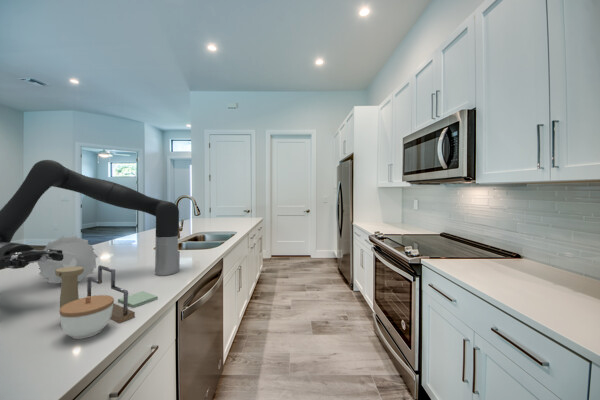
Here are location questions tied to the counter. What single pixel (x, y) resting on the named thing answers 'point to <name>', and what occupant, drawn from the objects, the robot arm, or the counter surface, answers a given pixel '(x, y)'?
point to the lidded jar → (86, 316)
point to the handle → (69, 283)
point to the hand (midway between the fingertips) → (43, 260)
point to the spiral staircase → (69, 258)
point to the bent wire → (118, 312)
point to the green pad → (139, 299)
